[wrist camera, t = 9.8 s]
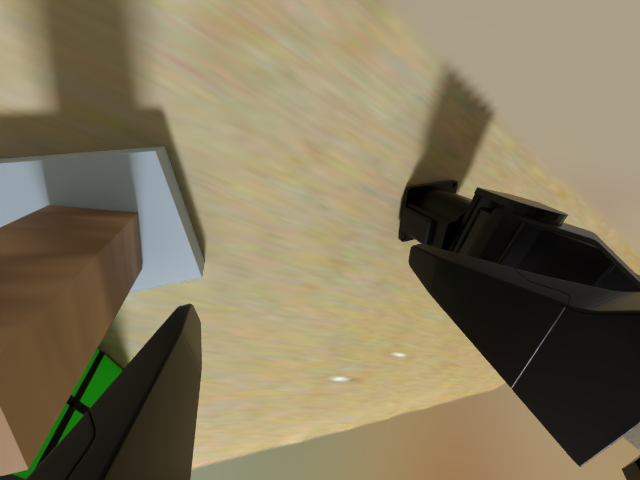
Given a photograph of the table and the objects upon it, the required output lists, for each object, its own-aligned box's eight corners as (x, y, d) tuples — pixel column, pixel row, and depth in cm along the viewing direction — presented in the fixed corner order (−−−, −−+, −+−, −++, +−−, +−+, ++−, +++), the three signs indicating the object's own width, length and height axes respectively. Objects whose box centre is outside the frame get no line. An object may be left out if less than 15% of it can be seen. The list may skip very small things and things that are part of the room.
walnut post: (138, 212, 16) (-16, 370, 6) (142, 268, 17) (27, 469, 7) (48, 205, 14) (-407, 415, 4) (62, 268, 16) (-236, 533, 6)
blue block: (166, 145, 17) (155, 150, 14) (205, 258, 22) (201, 277, 19) (-14, 158, 14) (-65, 168, 12) (76, 283, 19) (53, 309, 17)
